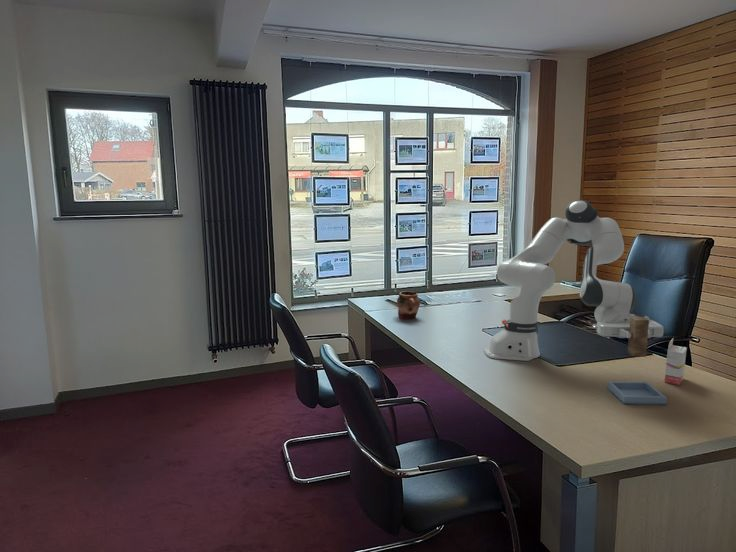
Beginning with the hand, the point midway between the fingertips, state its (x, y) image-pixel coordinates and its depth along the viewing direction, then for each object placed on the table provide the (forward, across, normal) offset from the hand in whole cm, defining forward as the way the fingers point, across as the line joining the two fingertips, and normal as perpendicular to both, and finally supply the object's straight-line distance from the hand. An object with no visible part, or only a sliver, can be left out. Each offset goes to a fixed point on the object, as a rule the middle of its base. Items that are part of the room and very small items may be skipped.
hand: (639, 335), depth 160 cm
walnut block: (-1, 0, +6) cm, 7 cm away
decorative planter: (-103, -74, +22) cm, 128 cm away
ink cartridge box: (-16, +21, +21) cm, 34 cm away
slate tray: (-1, +1, +21) cm, 21 cm away
